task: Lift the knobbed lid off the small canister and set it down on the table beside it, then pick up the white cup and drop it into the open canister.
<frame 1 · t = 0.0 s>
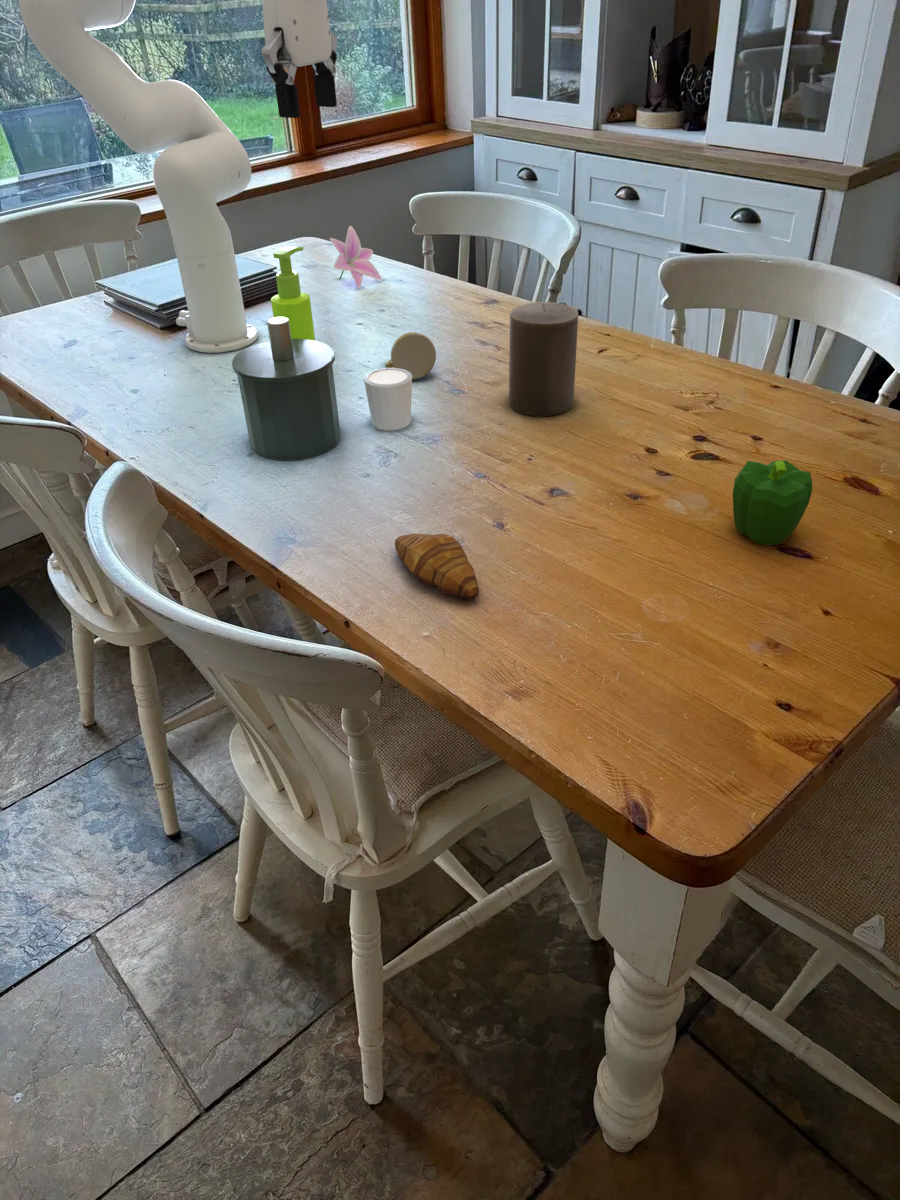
hand: (308, 111, 125), 37 cm above the table, tool pointing down, fingers open, 9 cm apart
white cup: (391, 423, 127), on the table
pillar candle: (541, 404, 131), on the table
lid: (284, 361, 117), point 11 cm above the table, touching canister
croissant: (436, 576, 96), on the table
canister: (295, 439, 124), on the table
bell pepper: (761, 534, 101), on the table
lily: (355, 283, 180), on the table
mug: (411, 371, 142), on the table
soap dispenser: (303, 379, 141), on the table
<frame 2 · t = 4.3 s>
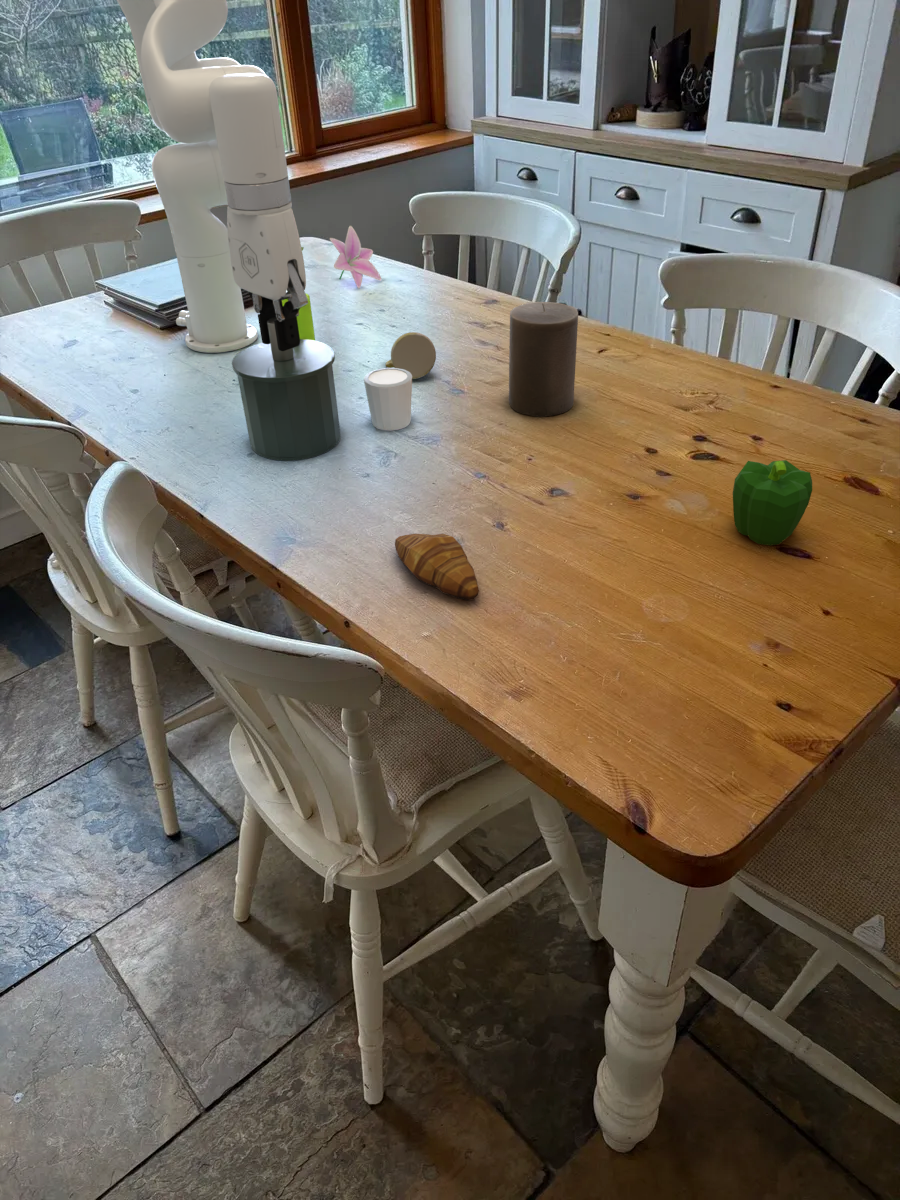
hand: (281, 343, 115), 14 cm above the table, tool pointing down, fingers closed on lid, 2 cm apart
lid: (284, 361, 117), point 12 cm above the table, touching gripper, canister
everything else where it was.
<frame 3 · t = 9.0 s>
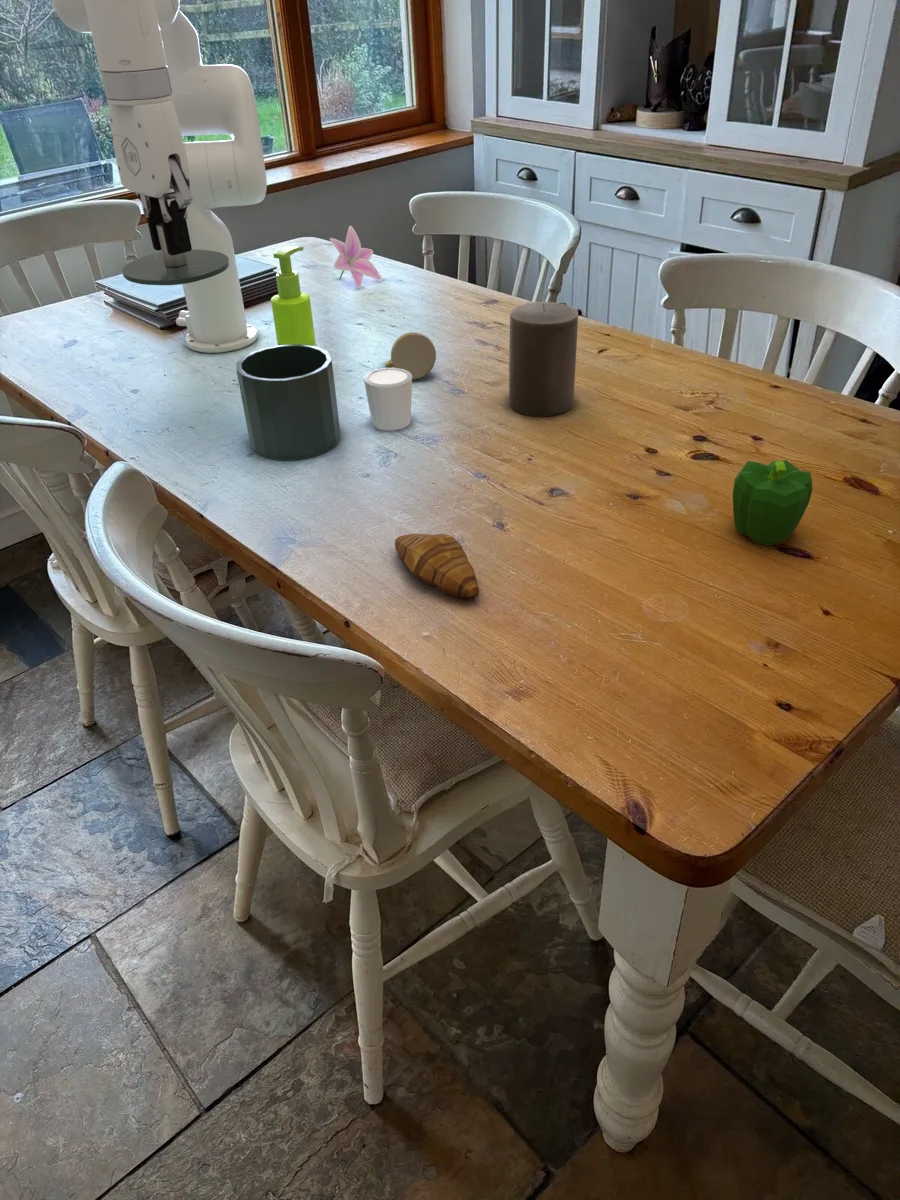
hand: (172, 249, 113), 25 cm above the table, tool pointing down, fingers closed on lid, 2 cm apart
lid: (176, 268, 114), point 23 cm above the table, touching gripper
everything else where it was.
when the fingers open (3 cm above the table, at t = 13.9 s): lid stays where it is, point 1 cm above the table.
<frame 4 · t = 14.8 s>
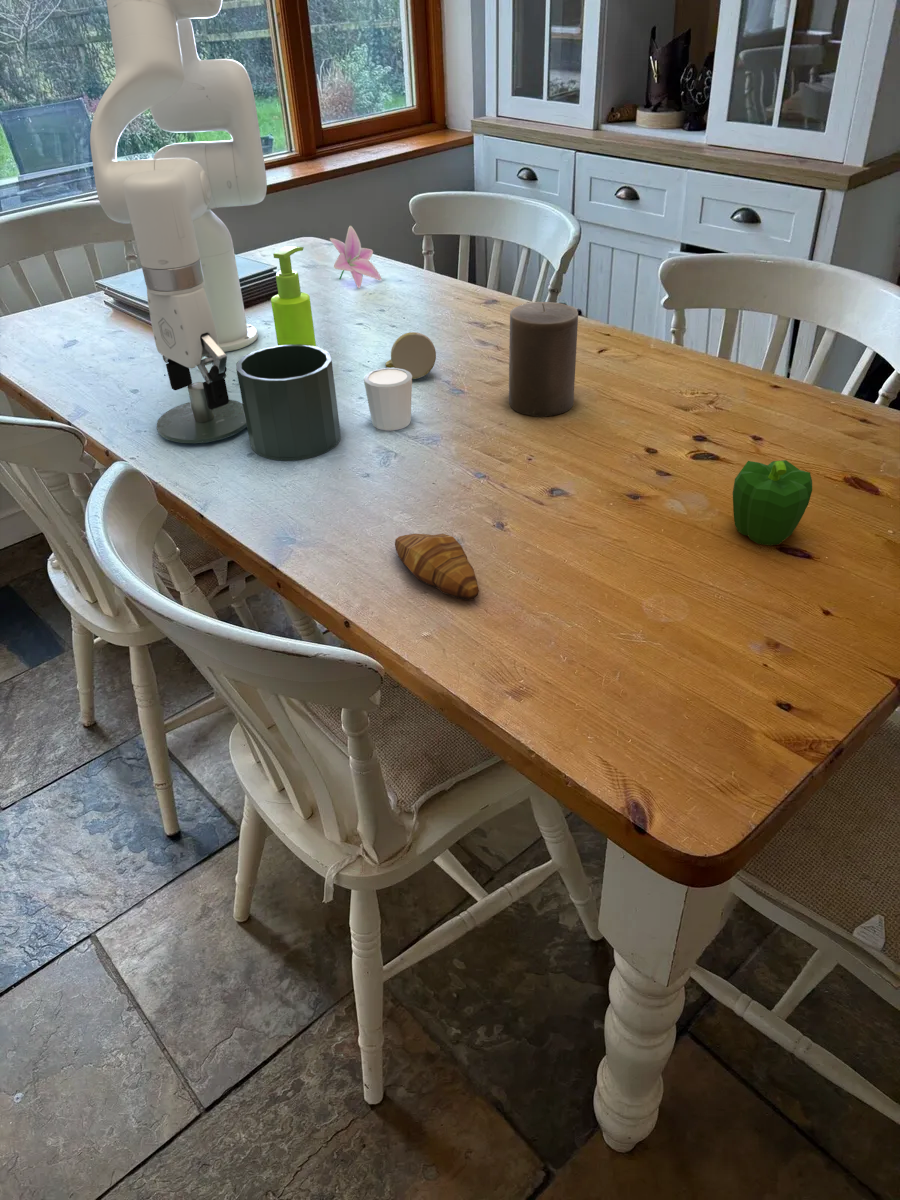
hand: (200, 396, 126), 4 cm above the table, tool pointing down, fingers open, 9 cm apart
lid: (205, 422, 128), point 1 cm above the table
everything else where it was.
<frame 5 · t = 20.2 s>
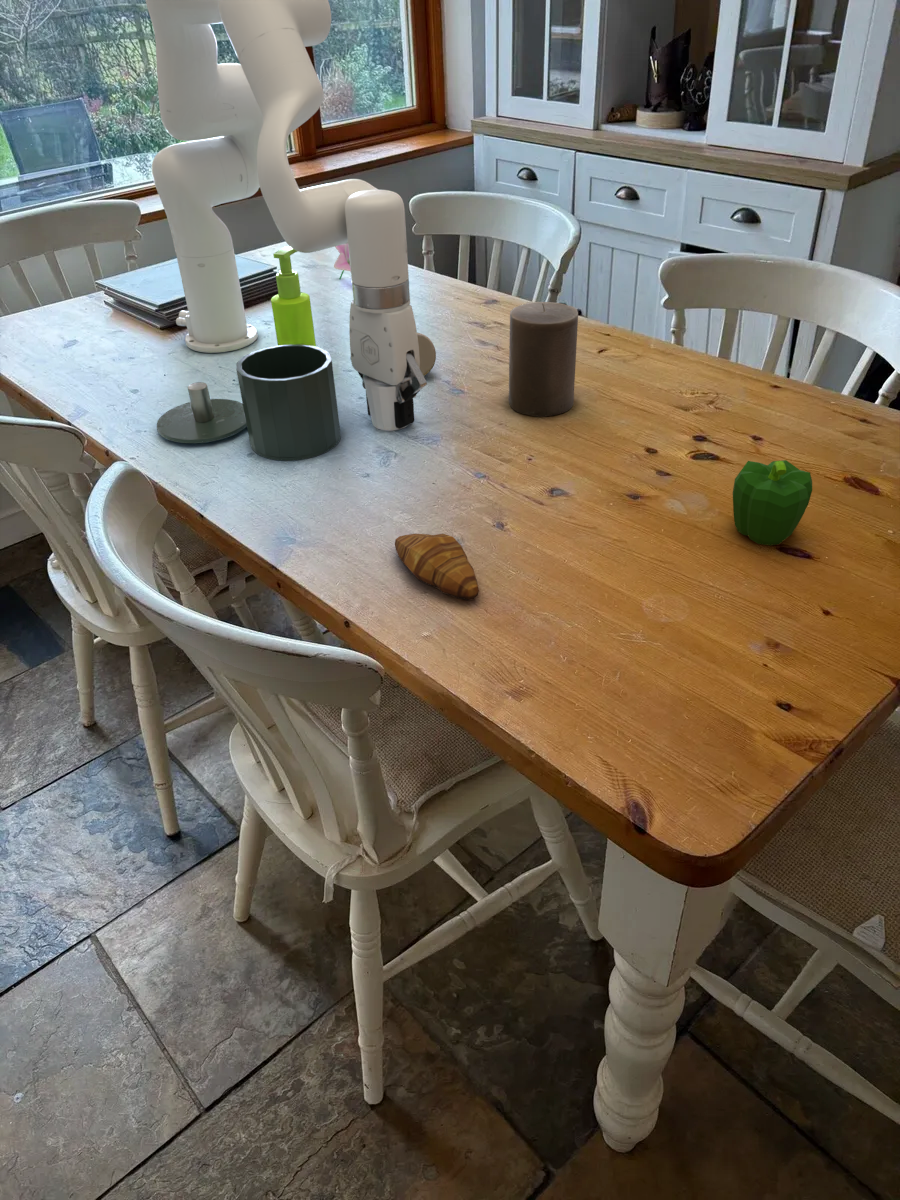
hand: (391, 417, 127), 1 cm above the table, tool pointing down, fingers closed on white cup, 5 cm apart
white cup: (391, 423, 127), on the table, touching gripper
everything else where it was.
when the fingers open (10 cm above the table, at t = 27.8 s): white cup drops 8 cm, resting on canister.
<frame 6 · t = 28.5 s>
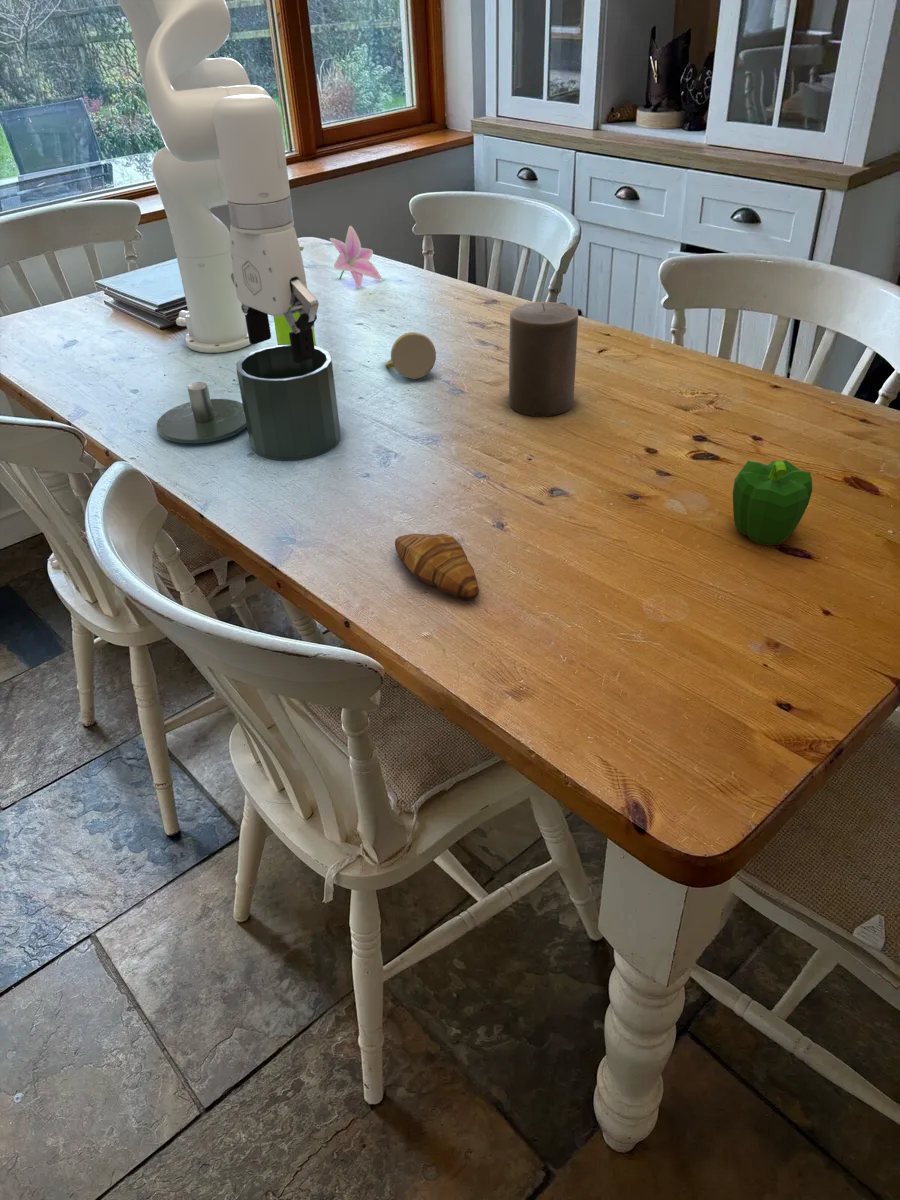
hand: (282, 350, 116), 13 cm above the table, tool pointing down, fingers open, 9 cm apart
white cup: (295, 437, 123), resting on canister
everything else where it was.
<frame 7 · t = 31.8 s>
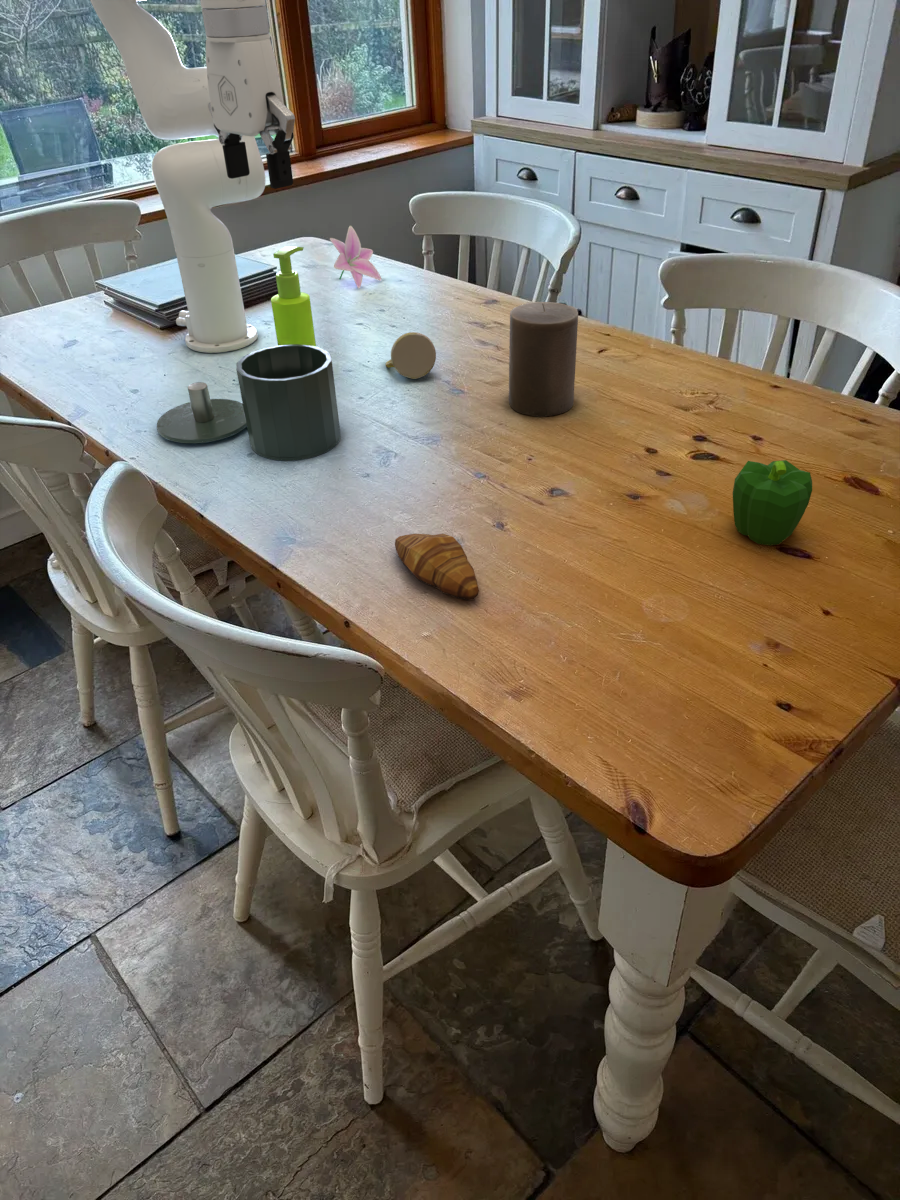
hand: (260, 181, 114), 31 cm above the table, tool pointing down, fingers open, 9 cm apart
nothing on the table moved.
at the end: lid inside the target area (0.2 cm from its centre), point 0.6 cm above the table; lid tilted 0°; white cup inside the target area in the canister (0.0 cm from its centre), point 0.3 cm above the canister's base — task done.
